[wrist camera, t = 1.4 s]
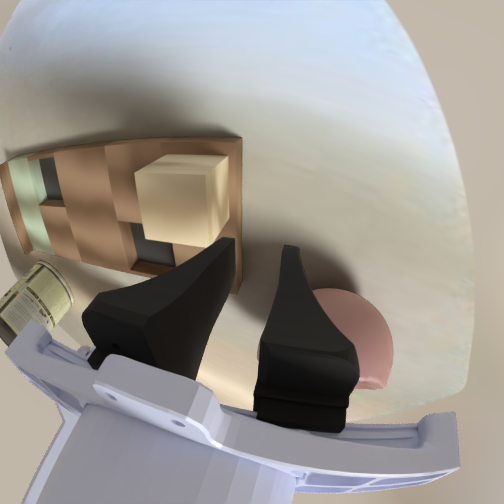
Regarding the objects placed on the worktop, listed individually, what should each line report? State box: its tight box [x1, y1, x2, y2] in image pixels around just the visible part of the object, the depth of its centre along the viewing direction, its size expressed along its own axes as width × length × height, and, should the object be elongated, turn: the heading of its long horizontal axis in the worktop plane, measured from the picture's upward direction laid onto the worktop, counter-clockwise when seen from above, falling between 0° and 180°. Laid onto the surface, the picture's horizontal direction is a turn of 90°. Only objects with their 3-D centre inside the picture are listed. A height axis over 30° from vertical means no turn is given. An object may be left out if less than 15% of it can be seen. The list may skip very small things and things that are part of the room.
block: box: [134, 154, 229, 248], centre depth 19 cm, size 5×5×4 cm
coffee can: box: [0, 261, 74, 347], centre depth 33 cm, size 10×10×14 cm
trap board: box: [0, 137, 242, 294], centre depth 25 cm, size 14×33×4 cm, turn 89°
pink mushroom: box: [257, 288, 393, 390], centre depth 23 cm, size 12×12×12 cm
